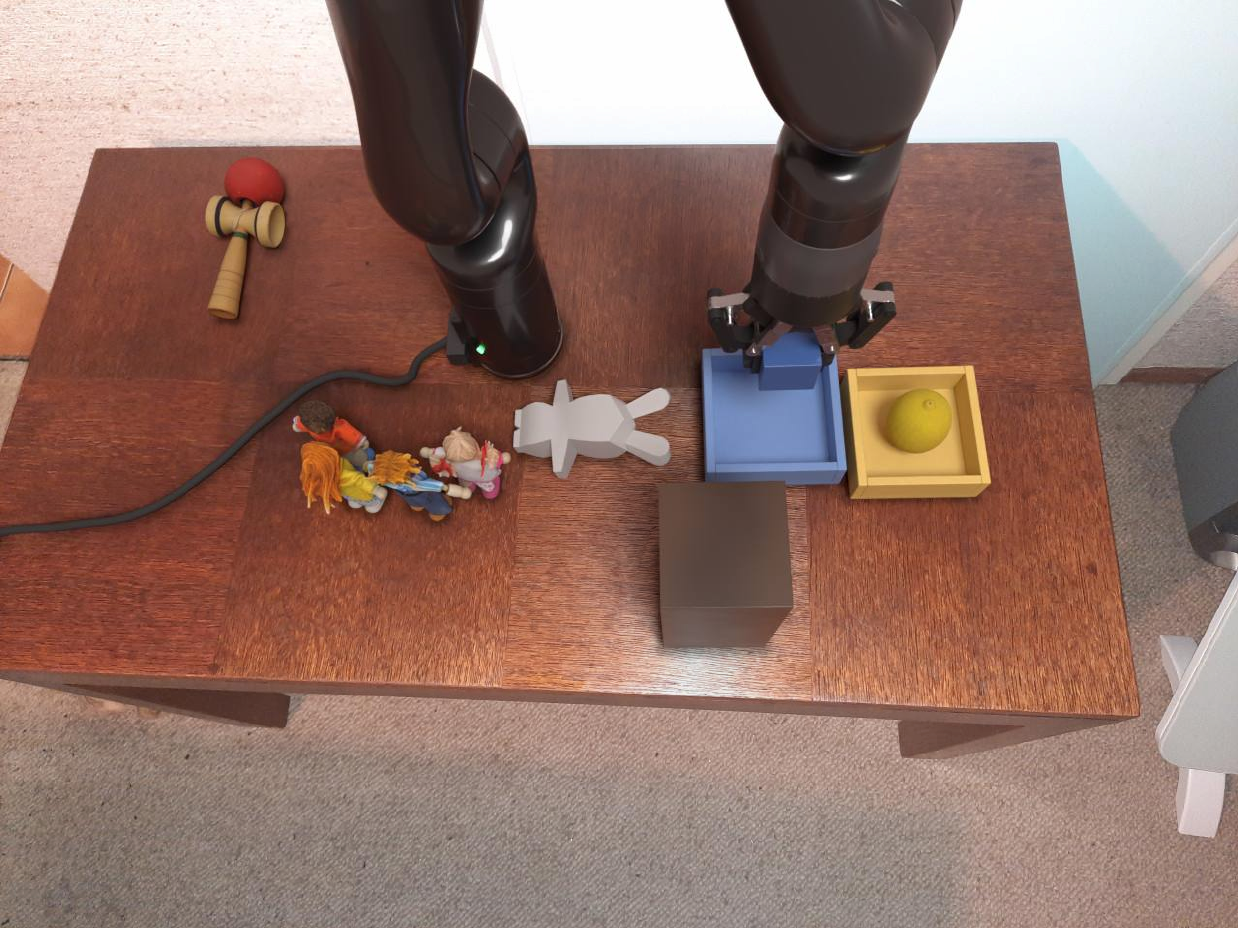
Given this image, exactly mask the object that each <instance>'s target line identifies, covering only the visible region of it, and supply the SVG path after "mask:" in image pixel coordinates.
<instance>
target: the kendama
mask: <svg viewBox="0 0 1238 928" xmlns="http://www.w3.org/2000/svg"><path fill="white" fill-rule="evenodd" d="M223 179H224V180H223V182H224V183H223V186H224V190H225V191H224V192H225V195H219V194H214V195H213V196H211V198H210V199H209V201H208V202H207V205H206V208H205V219H204V220H205V226H206V228H207V230H208V233H209V234H210V236H213V237H216V238H221V239H222V238H223V239H224V238H225V237H227V236H228V235H230V234H232V233H233V235H232V236H231V239H230V241H229V243H228V247H227V249H226V251H225V254H224V256H223V259H222V262H221V264H220V268H219V272H218V274H217V279H216V281H215V284H214V288H213V290H212V294H211V297H210V299H209V302H208V304H207V307H206V310H207V312H209V313H210V314H211V315H213V316H215V317H218V318H222V319H225V320H227V319H228V320H234V319H237V318H238V316H239V309H240V302H241V294H242V287H243V282H244V276H245V271H246V264H247V256H248V255H247V254H248V242H249V241H248V238H249V235H251V236H253V237H254V239H256V240H257V241H258V243H260V246H262V247H264V248H272V249H273V248H274V249H275V248H277V247H278V246H279V245H280V244H281V242H282V241H283V237H284V234H285V228H286V227H285V226H286V217H285V213H284V210H283V207H282V205H281V202H282V200H283V197H284V193H285V187H284V182H283V178H282V176H281V174H280V173H279V171H278V169H276V167H274V166H273V164H271V163H270V162H268V161H267V160H264V159H261V158H259V157H255V156H254V157H252V156H251V157H250V156H249V157H243V158H240V159H237V160H236V161H233V163H232V164H231V165H230V166H229V167H228V169H227V170H226V172H225V175H224V178H223Z"/></svg>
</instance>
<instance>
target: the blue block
mask: <svg viewBox="0 0 1238 928" xmlns="http://www.w3.org/2000/svg"><path fill="white" fill-rule="evenodd" d="M762 354H763V356H762V361H761V366H760V371H759V374H758V384H759V391H774V390H809V389H814V387H815V384H816V381H817V378H818V375H819V372H820V369H821V366H822V359H821V348H820V344H819V341H818V339H817V336H816V333H805V332H792V333H784V334H783V335H782V336H781V337H780V338H779V339H778V340H777V342H776V343H775V344H774V345H773V346H772V347H768V346H767V347H766V348H765V349H764V350H763V351H762Z"/></svg>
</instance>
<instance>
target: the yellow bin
mask: <svg viewBox="0 0 1238 928" xmlns="http://www.w3.org/2000/svg"><path fill="white" fill-rule="evenodd" d="M919 388H923V389H930V390H934V391H936V392H938V393H940V394H941V395H942V396H943V397H944V398H945V399H946V400H947V402H948V403H949V405H950V408H951V411H952V423H951V428H950V430H949V433H948V435H947V437H946V438H945V439H944V440H943V441H942V443H941V444H940V445H938V446H937V447H935V448H934V449H932V450H930V451H927V452H924V453H916V454H915V453H908V452H905V451H903V450H901V449H899V448H898V447H896V446H895V445H894V444H893V443H892V442H891V440H890V438H889V436H888V434H887V430H886V417H887V414H888V411H889V409H890V407H891V406H892V404H893V403H894V401H895V400H897V399H898V398H899V397H900V396H901V395H903V394H904V393H906V392H909V391H911V390H914V389H919ZM839 390H840V401H841V412H842V422H843V433H844V444H845V454H846V465H847V470H846V472H847V480H848V481H847V482H848V490H849V492H848V493H849V499H850V500H863V499H864V500H867V499H868V500H870V499H871V500H872V499H874V500H875V499H929V498H930V499H931V498H933V499H934V498H935V499H936V498H937V499H938V498H977V497H978V495H980V494H981V493H982V492H983V491H984V490H986V488H988V486H990V485H991V484H992V480H991V473H990V467H989V460H988V454H987V448H986V447H987V446H986V441H985V433H984V428H983V422H982V421H983V420H982V415H981V408H980V401H979V395H978V388H977V383H976V375H975V368H974V365H949V366H948V365H947V366H946V365H945V366H944V365H943V366H912V367H911V366H907V367H906V366H904V367H868V368H867V367H866V368H863V367H861V368H847V370H846V371H845V373H844V377H843V379H842V381H841V383H840V384H839Z"/></svg>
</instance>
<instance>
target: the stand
mask: <svg viewBox="0 0 1238 928" xmlns="http://www.w3.org/2000/svg"><path fill="white" fill-rule="evenodd" d="M786 486H787V485H786V484H785V481H744V482H705V481H697V482H696V481H695V482H658V484H657V488H658V489H657V490H658V491H657V492H658V497H657V498H658V555H659V557H658V560H659V561H658V562H659V563H658V564H659V565H658V566H659V568H658V569H659V612H660V621H661V632H662V644H663V649H703V648H705V649H709V648H713V649H715V648H717V649H719V648H720V649H721V648H724V649H725V648H730V649H731V648H737V649H738V648H765V647H766V646H767V645H768V643H770V641H771V639H772V638H773V636H774V635H775V634H776V633H777V631H778V629H779V628H780V627H781V625H783V623H784V621H785V619H786V618H787V617H788V616H789V614H790V613H791V612H792V610H793V609H794V607H795V603H794V588H793V575H792V560H791V547H790V546H791V545H790V534H789V533H790V530H789V529H790V527H789V517H788V501H787V499H788V498H787V487H786Z"/></svg>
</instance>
